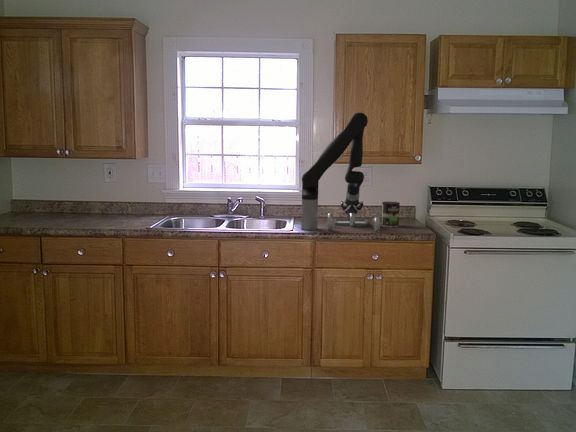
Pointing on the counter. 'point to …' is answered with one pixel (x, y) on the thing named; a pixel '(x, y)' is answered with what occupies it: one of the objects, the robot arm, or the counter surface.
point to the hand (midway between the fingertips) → (351, 212)
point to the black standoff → (351, 210)
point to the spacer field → (352, 221)
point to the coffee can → (390, 214)
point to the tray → (347, 223)
